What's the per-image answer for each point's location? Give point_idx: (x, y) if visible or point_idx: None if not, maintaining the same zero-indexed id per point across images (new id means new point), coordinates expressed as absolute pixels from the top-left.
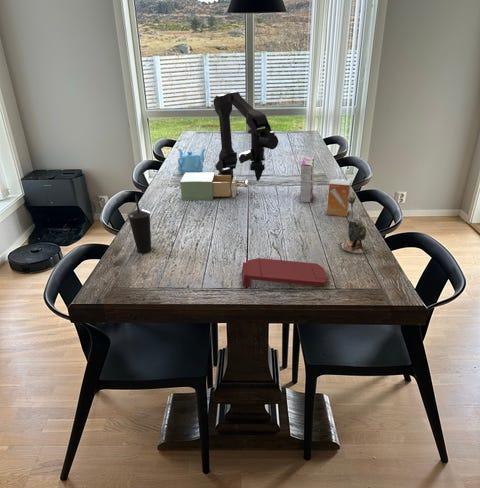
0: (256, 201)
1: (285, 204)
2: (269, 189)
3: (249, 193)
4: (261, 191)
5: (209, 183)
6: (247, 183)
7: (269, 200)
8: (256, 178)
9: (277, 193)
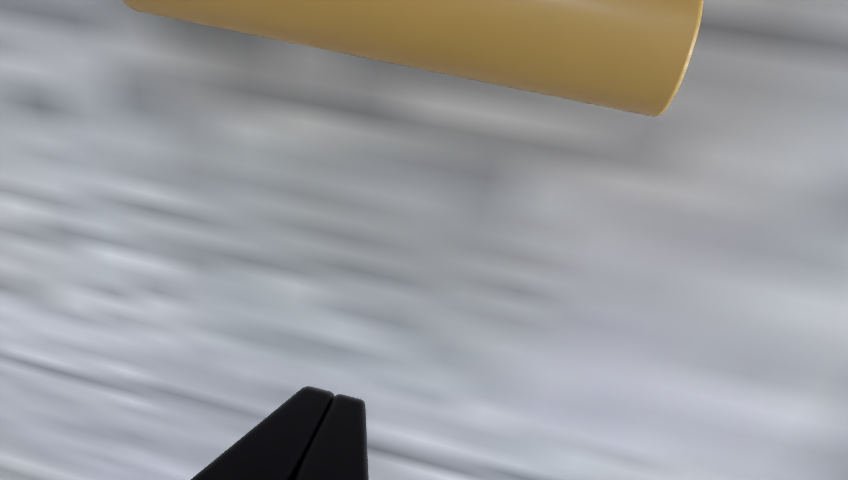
0: (43, 90)
1: (8, 416)
2: (660, 429)
3: None
4: (595, 292)
5: None
6: (303, 41)
7: (121, 295)
8: (240, 443)
9: (424, 462)
